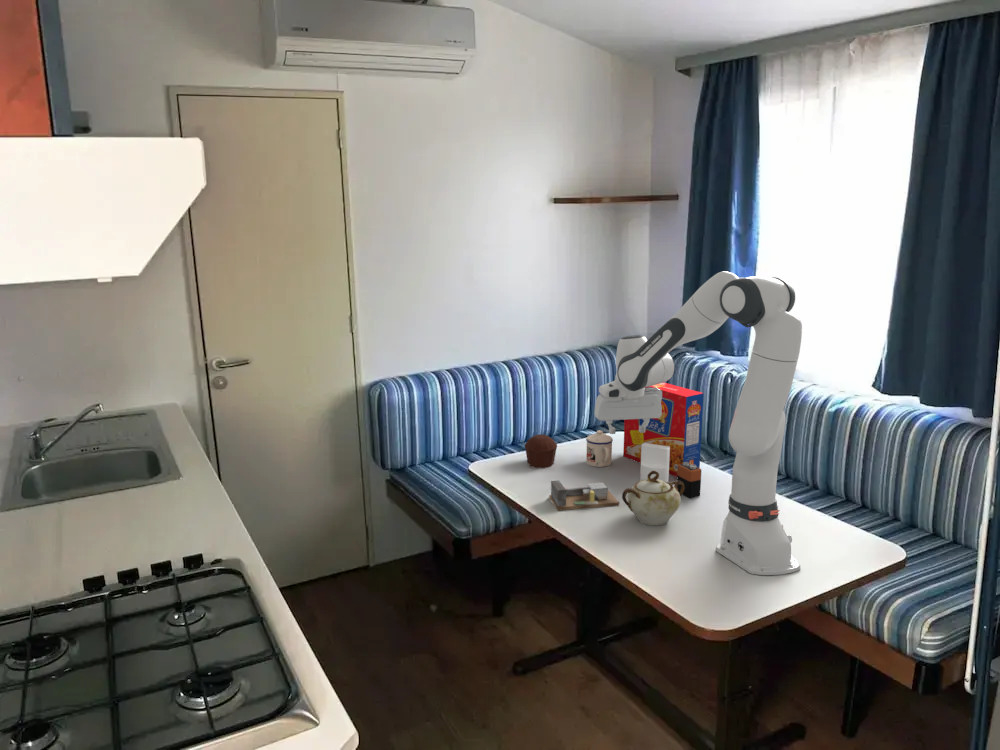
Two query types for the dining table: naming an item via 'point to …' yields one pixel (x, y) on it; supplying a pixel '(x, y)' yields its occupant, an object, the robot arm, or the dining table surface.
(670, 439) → the pasta box
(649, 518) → the sugar bowl
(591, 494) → the telltale marker
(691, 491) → the battery
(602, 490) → the gauge plunger
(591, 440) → the teacup with lid
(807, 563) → the dining table surface
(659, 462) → the base with upright slab
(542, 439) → the muffin
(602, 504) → the bench
